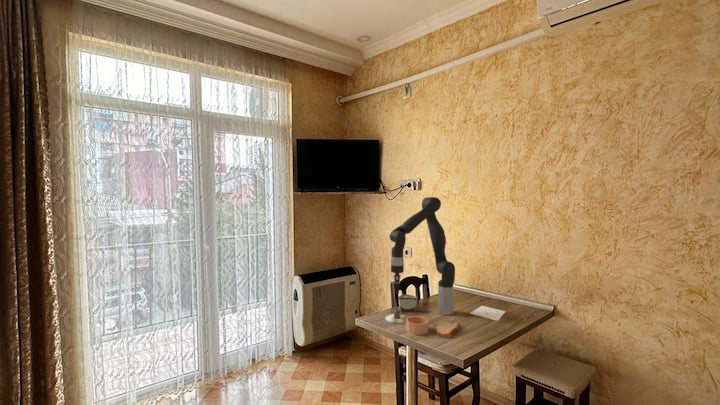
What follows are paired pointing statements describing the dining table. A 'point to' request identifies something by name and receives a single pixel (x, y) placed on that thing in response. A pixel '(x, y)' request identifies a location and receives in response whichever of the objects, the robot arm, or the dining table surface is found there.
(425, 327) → the bowl
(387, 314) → the mat
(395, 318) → the lid
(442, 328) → the bread slice
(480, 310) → the paper sheet
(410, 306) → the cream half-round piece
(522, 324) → the dining table surface
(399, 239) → the robot arm
